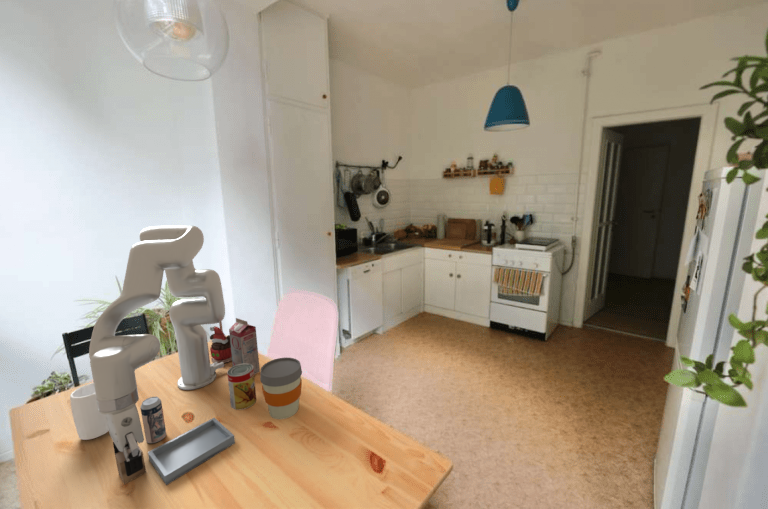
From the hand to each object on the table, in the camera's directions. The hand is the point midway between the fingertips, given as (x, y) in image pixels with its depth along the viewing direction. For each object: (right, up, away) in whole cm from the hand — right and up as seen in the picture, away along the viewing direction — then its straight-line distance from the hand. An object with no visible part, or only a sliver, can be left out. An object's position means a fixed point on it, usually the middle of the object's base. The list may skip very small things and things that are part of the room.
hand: (128, 462), depth 81 cm
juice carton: (+10, +5, +46) cm, 48 cm away
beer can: (-2, -2, +13) cm, 13 cm away
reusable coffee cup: (+31, +1, +25) cm, 40 cm away
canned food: (+16, +2, +29) cm, 33 cm away
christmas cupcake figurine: (-4, +7, +57) cm, 58 cm away
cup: (-21, -1, +15) cm, 26 cm away
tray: (+11, -2, +8) cm, 14 cm away
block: (0, -4, +1) cm, 4 cm away
